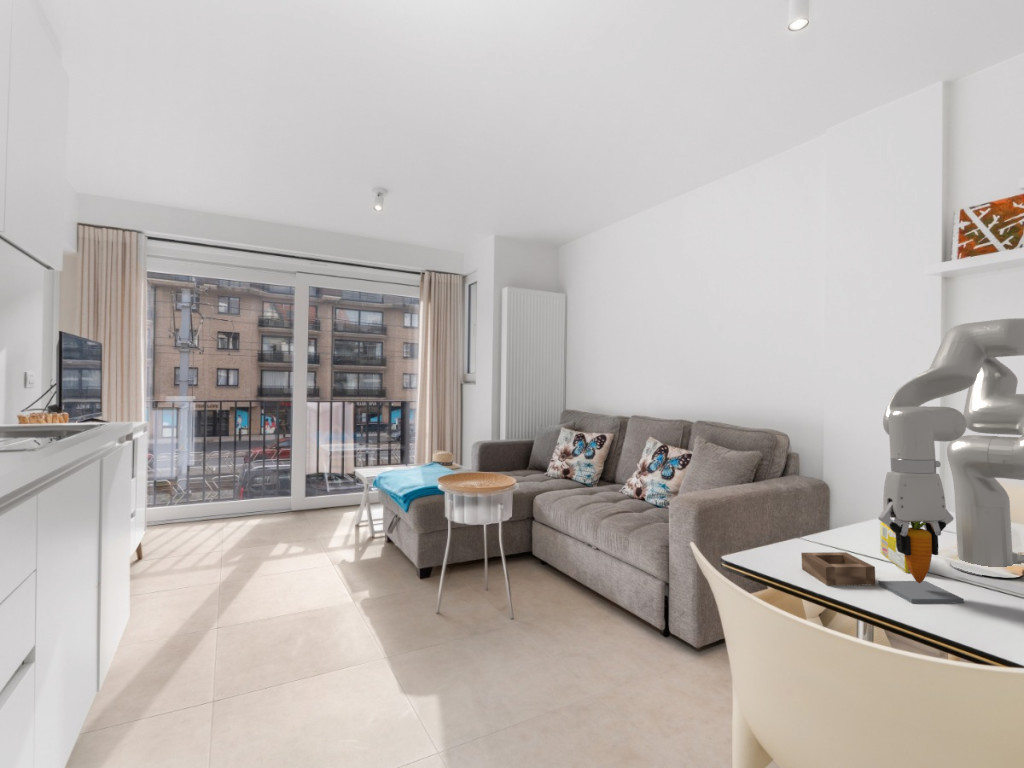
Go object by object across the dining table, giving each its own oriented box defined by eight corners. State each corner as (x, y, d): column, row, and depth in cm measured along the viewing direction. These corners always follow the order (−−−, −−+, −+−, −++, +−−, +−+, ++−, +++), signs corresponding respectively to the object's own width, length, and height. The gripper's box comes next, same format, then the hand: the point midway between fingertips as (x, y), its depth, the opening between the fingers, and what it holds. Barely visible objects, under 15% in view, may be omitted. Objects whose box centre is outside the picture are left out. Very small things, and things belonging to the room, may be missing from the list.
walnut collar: (846, 569, 121) (846, 552, 121) (875, 585, 111) (874, 566, 111) (802, 569, 122) (801, 552, 122) (826, 585, 111) (825, 567, 111)
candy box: (916, 574, 117) (914, 538, 117) (905, 573, 118) (903, 537, 118) (889, 553, 132) (887, 521, 133) (879, 552, 133) (877, 521, 133)
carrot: (902, 577, 109) (899, 508, 110) (931, 581, 107) (928, 510, 107) (906, 585, 105) (902, 512, 105) (936, 589, 102) (933, 515, 103)
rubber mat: (925, 584, 110) (925, 580, 110) (963, 602, 100) (963, 598, 100) (878, 584, 111) (878, 581, 111) (911, 603, 101) (911, 599, 101)
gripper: (940, 463, 110) (945, 547, 109) (860, 465, 111) (864, 548, 110) (969, 468, 102) (974, 558, 102) (883, 470, 103) (888, 559, 103)
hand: (917, 552), depth 106 cm, fingers closed on carrot, 4 cm apart
